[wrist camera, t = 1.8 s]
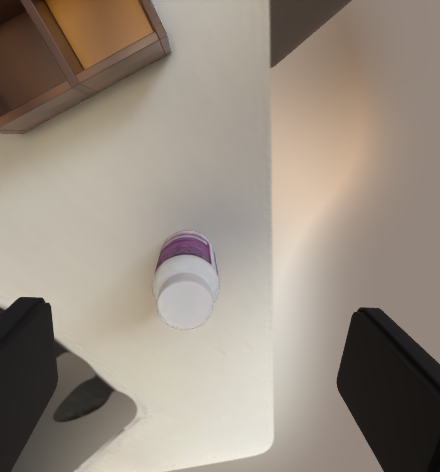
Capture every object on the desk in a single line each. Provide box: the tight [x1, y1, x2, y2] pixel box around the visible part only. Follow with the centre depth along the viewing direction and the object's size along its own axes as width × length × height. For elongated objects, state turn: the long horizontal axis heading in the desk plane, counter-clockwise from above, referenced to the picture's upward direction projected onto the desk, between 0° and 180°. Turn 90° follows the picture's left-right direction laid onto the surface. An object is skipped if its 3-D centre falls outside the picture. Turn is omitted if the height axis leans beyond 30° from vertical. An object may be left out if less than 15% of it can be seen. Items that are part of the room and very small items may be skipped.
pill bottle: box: [152, 231, 219, 330], centre depth 26 cm, size 5×5×10 cm
